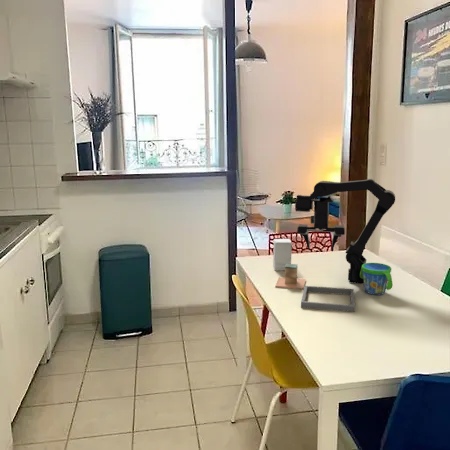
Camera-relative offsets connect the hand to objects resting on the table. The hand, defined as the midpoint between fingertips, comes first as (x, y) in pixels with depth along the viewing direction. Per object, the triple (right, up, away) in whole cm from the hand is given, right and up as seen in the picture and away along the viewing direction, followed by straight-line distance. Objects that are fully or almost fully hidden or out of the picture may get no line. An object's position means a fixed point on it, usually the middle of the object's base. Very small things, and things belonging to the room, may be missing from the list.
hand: (320, 250), depth 200 cm
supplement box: (-14, -9, +16) cm, 23 cm away
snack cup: (+18, -15, -15) cm, 28 cm away
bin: (-2, -17, -24) cm, 29 cm away
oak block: (-13, -13, -5) cm, 19 cm away
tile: (-13, -13, -5) cm, 19 cm away
